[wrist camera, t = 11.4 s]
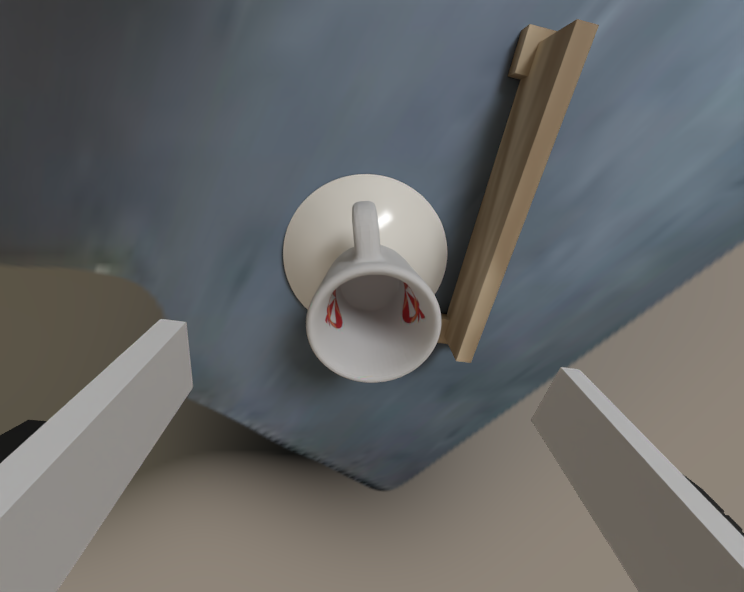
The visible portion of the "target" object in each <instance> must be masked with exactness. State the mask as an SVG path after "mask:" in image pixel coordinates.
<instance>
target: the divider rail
mask: <svg viewBox="0 0 744 592" xmlns="http://www.w3.org/2000/svg"><path fill="white" fill-rule="evenodd" d="M598 26H599V25H597V24H593V23H590V22H586V21H582V20H578V19H577V20H575V21H574V22H572V23H570V24H569V25H567V26H565V27H564V28H562V29H560V30H559V31H554V30H550V29H546V28H542V27H539V26H535V25H531V24H529V25H528V26H527V27H525V28H524V29H523V30H521V34H520V37H519V40H518V44H517V47H516V50H515V54H514V57H513V60H512V64H511V67H510V70H509V74H508V77H512V78H516V79H520V83H519V86H518V89H517V92H516V95H515V99H514V102H513V105H512V108H511V111H510V114H509V118H508V121H507V124H506V127H505V130H504V134H503V137H502V140H501V143H500V146H499V149H498V153H497V156H496V159H495V162H494V165H493V169H492V172H491V175H490V178H489V181H488V184H487V188H486V191H485V194H484V197H483V200H482V203H481V207H480V210H479V213H478V216H477V219H476V223H475V226H474V229H473V232H472V235H471V238H470V242H469V245H468V248H467V251H466V254H465V258H464V261H463V264H462V267H461V270H460V273H459V277H458V280H457V283H456V286H455V289H454V293H453V296H452V299H451V302H450V305H449V308H448V312H447V314H441V331H440V335H439V339H438V341H437V343H445V344H448V345H449V347H450V349H451V351H452V353H453V355H454V357H455V360H456V361H461V362H469V363H471V361H472V358H473V356H474V353H475V350H476V348H477V345H478V342H479V340H480V337H481V334H482V332H483V329H484V327H485V324H486V321H487V319H488V316H489V313H490V311H491V308H492V305H493V303H494V300H495V298H496V295H497V292H498V290H499V287H500V284H501V282H502V279H503V276H504V274H505V271H506V269H507V266H508V263H509V261H510V258H511V255H512V253H513V250H514V248H515V245H516V242H517V240H518V237H519V234H520V232H521V229H522V226H523V224H524V221H525V219H526V216H527V213H528V211H529V208H530V205H531V203H532V200H533V197H534V195H535V192H536V190H537V187H538V184H539V182H540V179H541V176H542V174H543V171H544V168H545V166H546V163H547V161H548V158H549V155H550V153H551V150H552V147H553V145H554V142H555V139H556V137H557V134H558V132H559V129H560V126H561V124H562V121H563V118H564V116H565V113H566V110H567V108H568V105H569V103H570V100H571V97H572V95H573V92H574V89H575V87H576V84H577V82H578V79H579V76H580V74H581V71H582V68H583V66H584V63H585V60H586V58H587V55H588V53H589V50H590V47H591V45H592V42H593V39H594V37H595V34H596V31H597V29H598Z"/></svg>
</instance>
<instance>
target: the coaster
mask: <svg viewBox="0 0 744 592" xmlns="http://www.w3.org/2000/svg"><path fill="white" fill-rule="evenodd" d="M359 201H371V202H373V203H374V204H375V206H376V210H377V216H378V224H379V234H380V245H383V246H386V247H388V248H391V249H392V250H394V251H396V252H397V253H398V254H400V255H401V256H402V257H403V258H404V259H405V260H406V261H407V262H408V263H409V265H410V266H411V267H412V268H413V269H414V270H415V271H416V272H417V274H418V275H419V276H420V277H421V278H422V279H423V280H424V281H425V283H426V284H427V285H428V286H429V287H430V289H431V290H432V292H433V293H434V295H435V293H436V292H437V290H438V288H439V286H440V284H441V282H442V279H443V276H444V273H445V269H446V264H447V242H446V236H445V232H444V229H443V226H442V223H441V221H440V219H439V217H438V215H437V213H436V212H435V211H434V209H433V208H432V206H431V205H430V204H429V203H428V202H427V200H426V199H425V198H424V197H423V196H422V195H420V194H419V193H418V192H417V191H415V190H414V189H413V188H411V187H409V186H408V185H406V184H404V183H402V182H400V181H398V180H395V179H393V178H389V177H386V176H382V175H374V174H356V175H350V176H345V177H342V178H339V179H336V180H333V181H331V182H329V183H327V184H325V185H323V186H322V187H320V188H319V189H317V190H316V191H314V192H313V193H312V194H311V195H310V196H309V197H308V198H306V199H305V200H304V202H303V203H302V204H301V205H300V206H299V208H298V209H297V211H296V212H295V214H294V215H293V217H292V219H291V221H290V223H289V226H288V228H287V232H286V235H285V239H284V247H283V261H284V268H285V272H286V276H287V279H288V282H289V284H290V286H291V288H292V290H293V292H294V294H295V295H296V297H297V298H298V299H299V301H300V302H301V303H302V304H303V306H304V307H305V308H306V309H307V310H308V308H309V305H310V302H311V300H312V298H313V296H314V294H315V293H316V291H317V289H318V288H319V286H320V284H321V282H322V281H323V279H324V277H325V275H326V274H327V272H328V270H329V268H330V267H331V265H332V264H333V262H334V261H335V260H336V259H337V258H338V257H339V256H340V255H341V254H342V253H343V252H345V251H346V250H348V249H350V248H352V247H354V238H353V225H352V207H353V204H355V203H356V202H359Z"/></svg>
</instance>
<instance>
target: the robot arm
mask: <svg viewBox="0 0 744 592" xmlns="http://www.w3.org/2000/svg"><path fill="white" fill-rule="evenodd" d="M192 388H193V382H192V372H191V363H190V353H189V343H188V334H187V324H186V322H182V321H174V320H165V319H160V320H159V321H158V322H157V323H156V324H155V325H153V326H152V327H151V328H150V329H149V330H148V331H147V332H146V333H145V334H144V335H142V336H141V337H140V338H139V339H138V340H137V341H136V342H135V343H133V344H132V345H131V346H130V347H129V348H128V349H127V350H126V351H125V352H124V353H122V354H121V355H120V356H119V357H118V358H117V359H116V360H115V361H114V362H113V363H111V364H110V365H109V366H108V367H107V368H106V369H105V370H103V371H102V372H101V373H100V374H99V375H98V376H97V377H96V378H95V379H93V380H92V381H91V382H90V383H89V384H88V385H87V386H86V387H85V388H84V389H82V390H81V391H80V392H79V393H78V394H77V395H76V396H75V397H74V398H72V399H71V400H70V401H69V402H68V403H67V404H66V405H65V406H64V407H62V408H61V409H60V410H59V411H58V412H57V413H56V414H55V415H54V416H52V417H51V418H50V419H49V420H48V421H36V420H27V421H26V422H24V423H22V424H20V425H18V426H16V427H15V428H13V429H11V430H9V431H7V432H5V433H4V434H2V435H0V592H57V590H58V589H59V587H60V586H61V584H62V583H63V581H64V579H65V578H66V577H67V575H68V574H69V572H70V571H71V569H72V568H73V566H74V565H75V563H76V562H77V560H78V559H79V557H80V556H81V554H82V553H83V551H84V550H85V548H86V547H87V545H88V544H89V542H90V541H91V539H92V538H93V536H94V535H95V533H96V532H97V530H98V529H99V527H100V526H101V524H102V523H103V521H104V520H105V518H106V517H107V515H108V514H109V512H110V511H111V509H112V508H113V506H114V505H115V503H116V502H117V500H118V499H119V497H120V496H121V494H122V493H123V491H124V490H125V488H126V487H127V485H128V484H129V482H130V481H131V479H132V477H133V476H134V474H135V473H136V472H137V470H138V469H139V467H140V466H141V464H142V463H143V461H144V460H145V458H146V457H147V455H148V454H149V452H150V451H151V449H152V448H153V446H154V445H155V443H156V442H157V440H158V439H159V437H160V436H161V434H162V433H163V431H164V430H165V428H166V427H167V425H168V424H169V422H170V421H171V419H172V418H173V416H174V415H175V413H176V412H177V410H178V409H179V407H180V406H181V404H182V403H183V401H184V400H185V398H186V397H187V395H188V394H189V392H190V391H191V389H192ZM531 421H532V423H533V424H534V426H535V427H536V429H537V431H538V432H539V434H540V435H541V437H542V439H543V440H544V442H545V443H546V445H547V447H548V448H549V450H550V451H551V453H552V454H553V456H554V458H555V459H556V461H557V462H558V464H559V466H560V467H561V469H562V470H563V472H564V474H565V475H566V477H567V478H568V480H569V481H570V483H571V485H572V486H573V488H574V490H575V491H576V493H577V494H578V496H579V497H580V499H581V501H582V502H583V504H584V505H585V507H586V508H587V510H588V512H589V513H590V515H591V517H592V518H593V520H594V521H595V523H596V524H597V526H598V528H599V529H600V531H601V532H602V534H603V536H604V537H605V539H606V540H607V542H608V544H609V545H610V546H611V548H612V550H613V552H614V553H615V555H616V556H617V558H618V560H619V561H620V563H621V564H622V566H623V567H624V569H625V571H626V572H627V574H628V575H629V577H630V579H631V580H632V582H633V583H634V585H635V587H636V588H637V590H638V591H639V592H744V533H743V532H742V529H741V528H740V527H739V526H738V525H737V524H736V523H735V522H734V521H733V520H732V519H731V518H730V516H728V515H725V514H724V510H723V509H721V508H720V506H718V504H717V503H716V502H715V501H714V500H713V499H711V497H709V495H708V494H706V492H705V491H703V489H701V488H700V487H699V486H697V485H696V484H695V483H693V482H692V481H691V480H689V479H688V478H687V477H686V476H684V475H683V474H682V473H681V472H679V470H678V469H676V467H675V466H674V465H673V464H672V463H671V462H670V461H669V460H668V459H667V458H666V457H665V456H664V455H663V454H662V453H661V452H660V451H659V450H658V449H657V448H656V447H655V446H654V445H653V444H652V443H651V442H650V441H649V440H648V439H647V438H646V437H645V436H644V435H643V434H642V433H641V432H640V431H639V430H638V429H637V428H636V427H635V426H634V425H633V424H632V423H631V422H630V421H629V420H628V418H626V416H625V415H624V414H623V413H622V412H621V411H620V410H619V409H618V408H617V407H616V406H615V405H614V404H613V403H612V402H611V401H610V400H609V399H608V398H607V397H606V396H605V395H604V394H603V393H602V392H601V391H600V390H599V389H598V388H597V387H596V386H595V385H594V384H593V383H592V382H591V381H590V380H589V379H588V378H587V377H586V376H585V375H584V374H583V373H582V372H581V371H580V370H579V369H571V368H563V367H561V368H560V369H559V371H558V373H557V375H556V376H555V378H554V380H553V382H552V383H551V385H550V387H549V389H548V391H547V392H546V394H545V396H544V398H543V399H542V401H541V403H540V405H539V406H538V408H537V410H536V412H535V414H534V415H533V417H532V419H531Z"/></svg>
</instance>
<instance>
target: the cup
mask: <svg viewBox="0 0 744 592" xmlns="http://www.w3.org/2000/svg"><path fill="white" fill-rule="evenodd" d="M352 225H353V238H354V247H352V248H350V249H348V250H346V251H345V252H343V253H342V254H341V255H340V256H339V257H338V258H337V259H336V260H335V261H334V262H333V264H332V265H331V267H330V268H329V270H328V272H327V274H326V275H325V277H324V279H323V281H322V282H321V284H320V286H319V288H318V289H317V291H316V293H315V294H314V296H313V298H312V300H311V302H310V305H309V308H308V312H307V317H306V331H307V337H308V340H309V343H310V346H311V348H312V350H313V352H314V353H315V355H316V356H317V358H318V359H319V360H320V361H321V362H322V363H323V364H324V365H325V366H326V367H327V368H329V369H330V370H331V371H333V372H335V373H336V374H338V375H340V376H342V377H345V378H348V379H351V380H355V381H359V382H372V383H376V382H385V381H389V380H393V379H396V378H399V377H402V376H404V375H406V374H408V373H410V372H412V371H413V370H414V369H416V368H417V367H419V366H420V365H421V364H422V363H423V362H424V361H425V360H426V359H427V358H428V357H429V355H430V354H431V353H432V351H433V350H434V348H435V346H436V344H437V341H438V339H439V335H440V331H441V312H440V307H439V304H438V301H437V299H436V297H435V295H434V293H433V292H432V290H431V289H430V287H429V286H428V285H427V284H426V283H425V281H424V280H423V279H422V278H421V277H420V276H419V275H418V274H417V272H416V271H415V270H414V269H413V268H412V267H411V266H410V265H409V263H408V262H407V261H406V260H405V259H404V258H403V257H402V256H401V255H400V254H398V253H397V252H396V251H394V250H392V249H391V248H388V247H386V246H383V245H380V234H379V224H378V216H377V210H376V206H375V204H374V203H373V202H371V201H359V202H356V203H355V204H353V207H352Z"/></svg>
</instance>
